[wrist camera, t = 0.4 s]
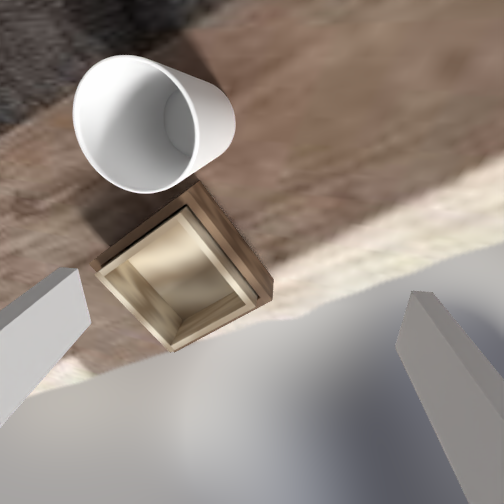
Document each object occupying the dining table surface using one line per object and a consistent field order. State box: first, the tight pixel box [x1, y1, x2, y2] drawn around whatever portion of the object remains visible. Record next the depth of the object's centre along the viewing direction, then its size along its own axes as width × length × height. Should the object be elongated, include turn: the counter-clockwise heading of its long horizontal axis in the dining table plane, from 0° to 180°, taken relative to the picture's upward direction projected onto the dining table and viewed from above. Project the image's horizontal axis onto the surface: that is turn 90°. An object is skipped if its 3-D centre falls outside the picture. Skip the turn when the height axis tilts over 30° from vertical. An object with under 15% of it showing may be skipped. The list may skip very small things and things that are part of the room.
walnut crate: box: [89, 181, 274, 352], centre depth 39 cm, size 16×16×5 cm
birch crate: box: [94, 204, 258, 353], centre depth 38 cm, size 13×13×6 cm
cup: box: [73, 55, 235, 194], centre depth 27 cm, size 8×8×16 cm
